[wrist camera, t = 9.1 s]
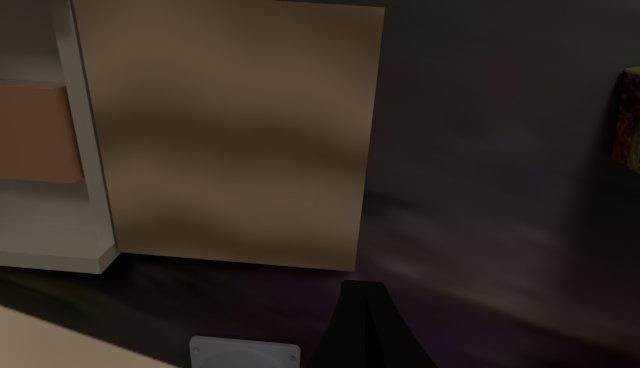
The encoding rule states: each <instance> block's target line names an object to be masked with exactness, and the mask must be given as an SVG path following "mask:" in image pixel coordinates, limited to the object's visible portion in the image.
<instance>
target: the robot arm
mask: <svg viewBox="0 0 640 368" xmlns="http://www.w3.org/2000/svg"><path fill="white" fill-rule="evenodd" d="M189 346H190V355H191V364H192V368H300V352H301V350H300V347H299V346H297V345H294V344H283V343H272V342H260V341H249V340H238V339H227V338H215V337H204V336H194V337H192V338H191V340H190V343H189ZM196 347H197V348H196ZM292 356H295V357H292ZM305 368H438V367H437V366H436V364H435V363H434V362H433V361H432V359H431V358H430V357H429V356H428V354H427V353H426V352H425V350H424V349H423V347H422V346H421V345H420V343H419V342H418V341H417V339H416V338H415V336H414V335H413V333H412V332H411V330H410V329H409V327H408V326H407V324H406V323H405V321H404V319H403V318H402V316H401V315H400V313H399V311H398V309H397V308H396V306H395V304H394V302H393V301H392V299H391V297H390V295H389V293H388V291H387V289H386V287H385V285H384V284H383V283H382V282H369V281H354V280H344V281H343V282H342V283H341V292H340V296H339V300H338V303H337V306H336V309H335V311H334V314H333V316H332V319H331V321H330V324H329V326H328V328H327V330H326V332H325V334H324V336H323V338H322V340H321V342H320V344H319V345H318V347H317V349H316V351H315V352H314V354H313V356H312V357H311V359H310V361H309V362H308V364H307V365H306V367H305Z"/></svg>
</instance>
